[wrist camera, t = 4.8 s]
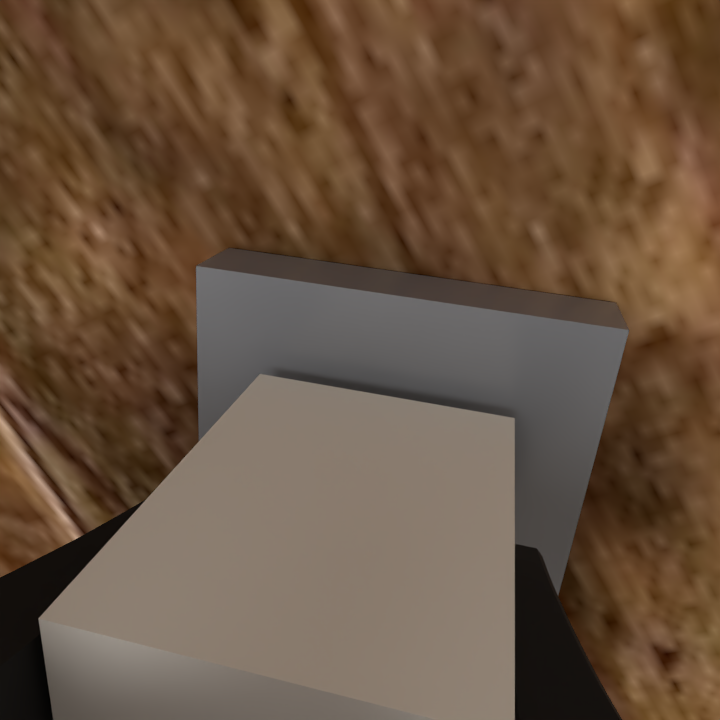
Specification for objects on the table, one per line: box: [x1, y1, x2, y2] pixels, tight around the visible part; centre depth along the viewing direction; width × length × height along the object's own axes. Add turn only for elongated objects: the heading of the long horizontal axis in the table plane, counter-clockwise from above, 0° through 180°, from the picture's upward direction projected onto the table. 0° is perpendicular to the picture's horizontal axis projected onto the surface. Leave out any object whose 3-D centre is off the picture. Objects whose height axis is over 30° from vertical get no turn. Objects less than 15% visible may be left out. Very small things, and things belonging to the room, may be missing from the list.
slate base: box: [196, 248, 629, 595], centre depth 13 cm, size 8×8×2 cm
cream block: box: [38, 374, 515, 720], centre depth 9 cm, size 4×4×6 cm
